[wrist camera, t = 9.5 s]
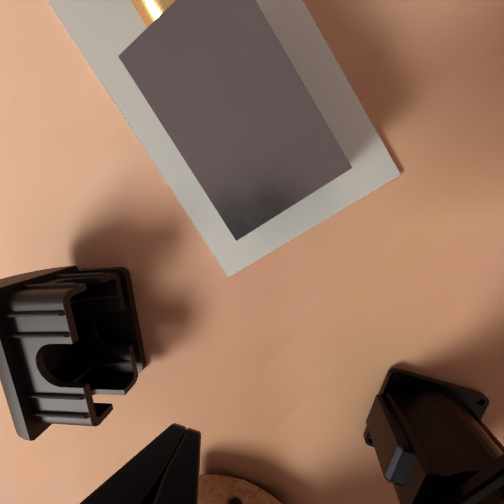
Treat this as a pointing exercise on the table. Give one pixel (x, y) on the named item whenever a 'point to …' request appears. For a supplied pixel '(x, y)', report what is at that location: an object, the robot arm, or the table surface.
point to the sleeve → (234, 109)
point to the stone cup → (231, 491)
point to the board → (171, 161)
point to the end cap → (67, 345)
